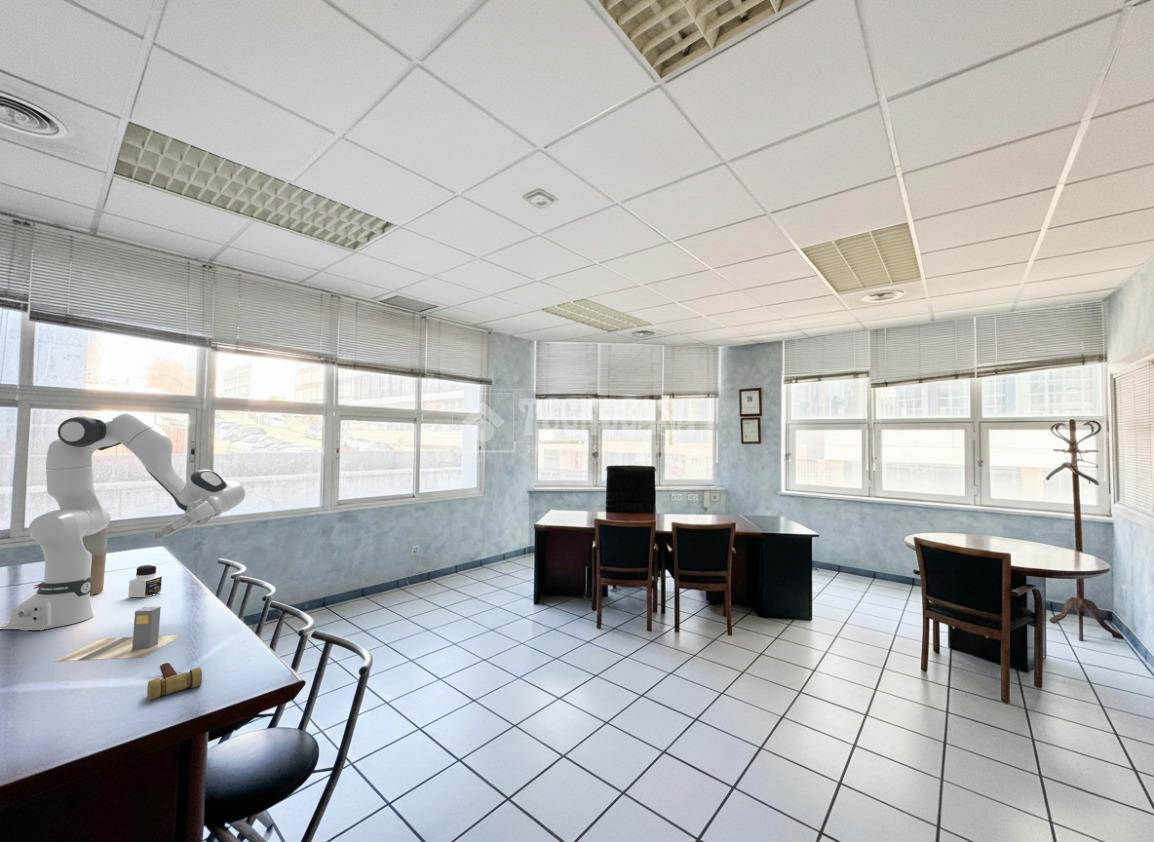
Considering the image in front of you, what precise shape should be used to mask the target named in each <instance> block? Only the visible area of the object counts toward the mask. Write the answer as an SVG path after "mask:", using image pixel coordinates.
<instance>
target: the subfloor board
mask: <svg viewBox="0 0 1154 842" xmlns="http://www.w3.org/2000/svg"><path fill="white" fill-rule="evenodd" d="M181 636H183V635H182V634H174V635H159V637H158V644H156V645H155V646H153V647H151V648H149V649H132V644H133V636H125V637H102V638H101V639H99V640H95V641H94V642H91V643H90V644H87V645H85V646H84V647H81V648H79V649H77V650H75V651H73V652H71V653H69V654H67V655H64V656H63V657H60V658H58V659H56V660H54V661H53V662H72V661H95V660H96V661H97V660H99V661H101V660H118V659H136V658H137V659H138V658H145V657H147V656H150V654H152V653H154V652H156V651H157V650H160V649H162V647H164V646H166V645H168V644H170V643H171V642H174V641H175V640H176V639H178V638H180V637H181Z"/></svg>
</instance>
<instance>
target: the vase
mask: <svg viewBox="0 0 1154 842" xmlns="http://www.w3.org/2000/svg"><path fill="white" fill-rule="evenodd" d="M108 533H109V524H108V525H107V526H106V527H105V528H104V529H102V530H101V531H99V532H97V533H95V534H92V535H89V536H84V537H83V544H84V547H85V549H86V550H87V551H89V552H90V553H91V555H92V562H91V574H90V576H92V584H91V589H90V595H92V596H94V595H93V594H96V595H98V594H97V593H99V594H101V593H100V592H102V591H103V592H104V584H105V573H106V560H107V547H108ZM103 592H102V593H103Z"/></svg>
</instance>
